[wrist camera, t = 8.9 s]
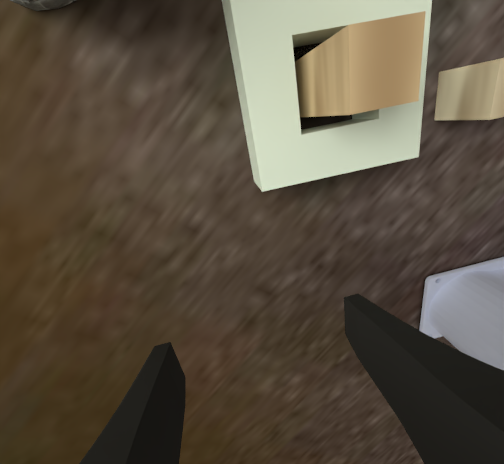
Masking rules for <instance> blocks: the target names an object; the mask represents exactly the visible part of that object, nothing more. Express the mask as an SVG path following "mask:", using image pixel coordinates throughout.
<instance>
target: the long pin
mask: <svg viewBox="0 0 504 464" xmlns="http://www.w3.org/2000/svg"><path fill="white" fill-rule="evenodd" d="M425 13H426V11H423V12H418V13H412V14H407V15H401V16H395V17H390V18H384V19H378V20H373V21H367V22H361V23H356V24H350V25H347V26H346V27H345V28H343V29H342V30H340V31H339V32H337V33H336V34H334V35H333V36H332V37H330V38H329V39H327V40H326V41H324V42H323V43H321V44H320V45H319V46H317V47H316V48H314V49H313V50H311V51H310V52H308V53H307V54H306V55H304V56H303V57H301V58H300V59H298V60H297V61H295V72H296V82H297V93H298V103H299V114H300V117H318V116H338V115H352V114H357V113H362V112H367V111H372V110H377V109H382V108H387V107H392V106H396V105H401V104H406V103H411V102H416V101H419V88H420V75H421V63H422V50H423V38H424V25H425Z"/></svg>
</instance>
